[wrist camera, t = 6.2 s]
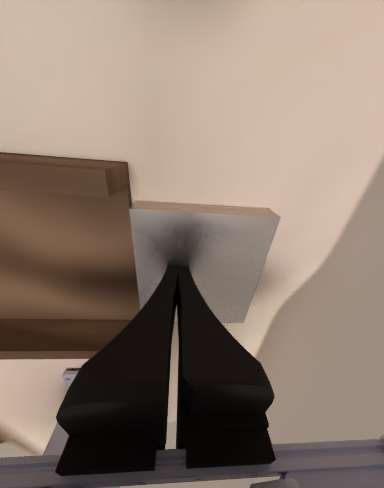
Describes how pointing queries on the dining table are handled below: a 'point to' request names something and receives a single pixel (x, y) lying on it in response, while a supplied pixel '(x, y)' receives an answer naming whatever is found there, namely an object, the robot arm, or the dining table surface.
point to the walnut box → (64, 256)
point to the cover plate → (203, 250)
